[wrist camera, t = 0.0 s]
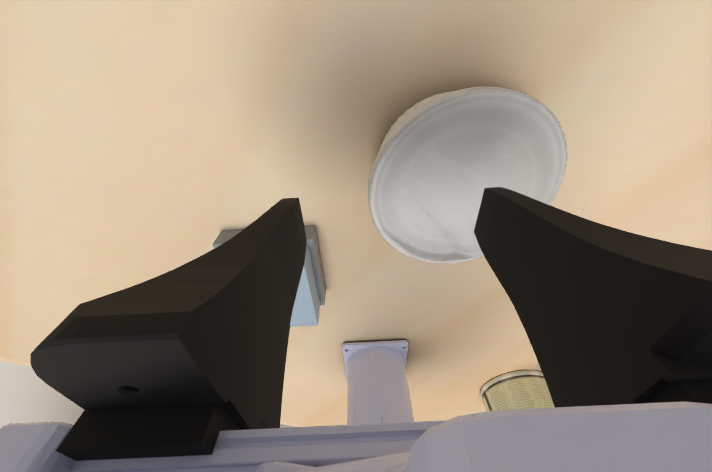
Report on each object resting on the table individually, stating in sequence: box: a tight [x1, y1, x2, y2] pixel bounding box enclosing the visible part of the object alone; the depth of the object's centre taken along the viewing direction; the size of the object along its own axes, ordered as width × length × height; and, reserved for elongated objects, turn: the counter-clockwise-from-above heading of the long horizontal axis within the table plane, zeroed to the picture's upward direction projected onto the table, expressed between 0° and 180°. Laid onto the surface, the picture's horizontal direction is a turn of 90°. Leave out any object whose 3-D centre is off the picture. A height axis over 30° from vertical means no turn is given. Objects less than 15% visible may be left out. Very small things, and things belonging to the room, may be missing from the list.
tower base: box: [213, 226, 326, 305], centre depth 25 cm, size 8×8×2 cm
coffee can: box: [480, 370, 555, 412], centre depth 35 cm, size 10×10×14 cm
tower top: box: [290, 246, 320, 327], centre depth 23 cm, size 7×7×2 cm
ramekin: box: [368, 86, 567, 264], centre depth 18 cm, size 11×11×5 cm
